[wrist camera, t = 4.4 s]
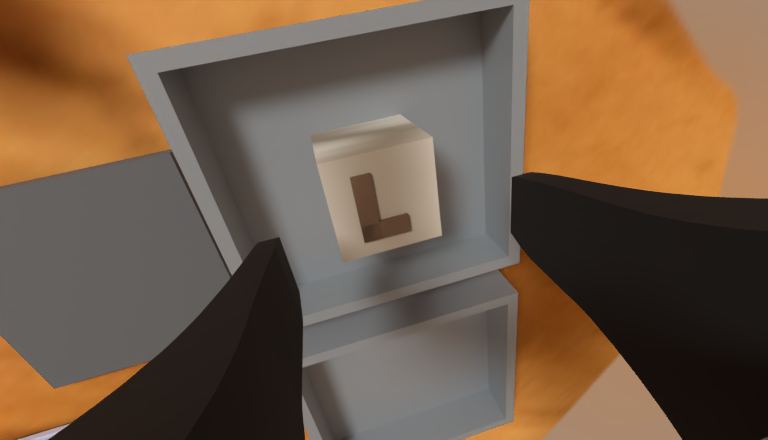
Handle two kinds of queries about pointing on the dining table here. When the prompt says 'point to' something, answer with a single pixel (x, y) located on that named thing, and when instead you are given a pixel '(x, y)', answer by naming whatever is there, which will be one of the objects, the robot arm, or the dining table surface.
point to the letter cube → (379, 185)
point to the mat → (103, 266)
